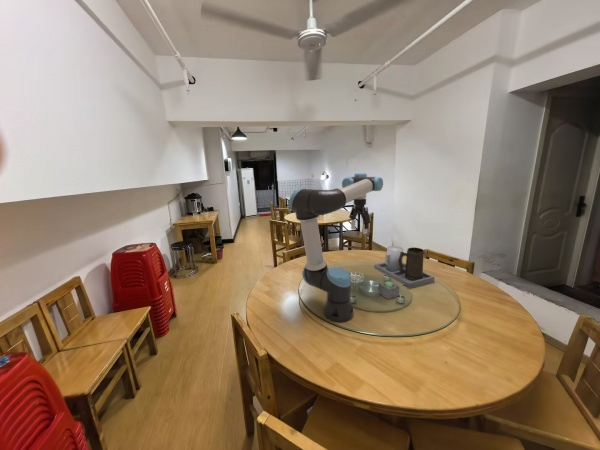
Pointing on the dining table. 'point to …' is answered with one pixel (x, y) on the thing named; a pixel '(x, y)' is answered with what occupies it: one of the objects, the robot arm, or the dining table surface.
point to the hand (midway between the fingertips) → (358, 231)
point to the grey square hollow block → (388, 290)
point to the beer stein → (412, 263)
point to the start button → (389, 284)
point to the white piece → (393, 258)
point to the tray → (401, 276)
